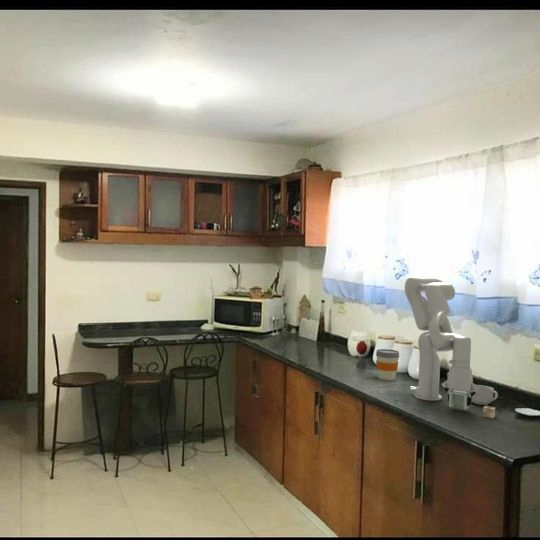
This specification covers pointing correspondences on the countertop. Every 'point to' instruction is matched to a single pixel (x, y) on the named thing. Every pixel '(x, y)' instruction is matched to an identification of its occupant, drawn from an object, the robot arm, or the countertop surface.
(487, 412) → the lettered cube
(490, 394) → the teacup
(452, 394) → the toy fireplace
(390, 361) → the reusable coffee cup
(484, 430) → the countertop surface
